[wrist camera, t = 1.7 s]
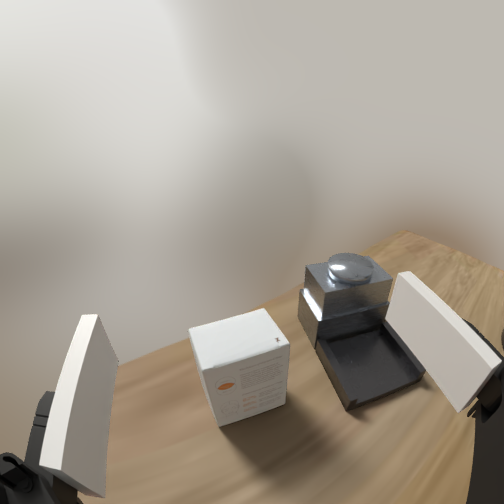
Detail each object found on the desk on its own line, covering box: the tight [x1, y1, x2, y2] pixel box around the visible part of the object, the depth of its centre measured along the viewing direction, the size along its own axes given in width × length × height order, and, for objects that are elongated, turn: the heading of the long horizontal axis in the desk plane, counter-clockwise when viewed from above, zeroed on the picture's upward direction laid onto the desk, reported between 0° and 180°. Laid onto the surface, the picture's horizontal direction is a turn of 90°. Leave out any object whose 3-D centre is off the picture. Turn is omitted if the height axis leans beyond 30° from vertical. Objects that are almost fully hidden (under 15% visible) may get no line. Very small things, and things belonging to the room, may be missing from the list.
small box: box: [188, 308, 290, 427], centre depth 27 cm, size 8×6×10 cm
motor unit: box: [298, 253, 426, 411], centre depth 33 cm, size 11×18×10 cm, turn 12°
